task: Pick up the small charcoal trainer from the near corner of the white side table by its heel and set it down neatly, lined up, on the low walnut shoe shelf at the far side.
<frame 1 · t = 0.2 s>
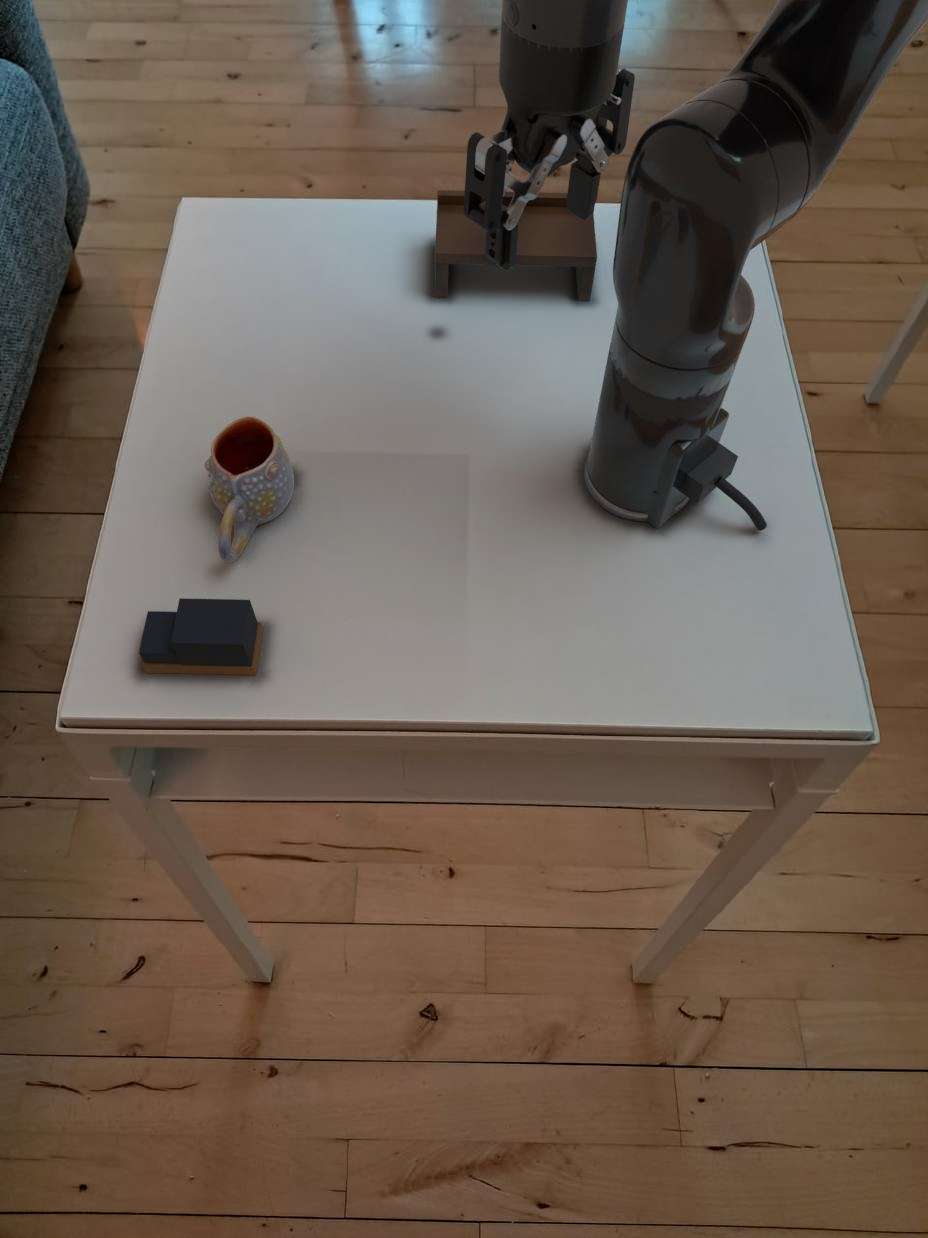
hand: (541, 237, 71), 17 cm above the table, tool pointing down, fingers open, 8 cm apart
shoe shelf: (512, 271, 94), on the table
trainer: (205, 650, 72), on the table
mug: (248, 521, 78), on the table
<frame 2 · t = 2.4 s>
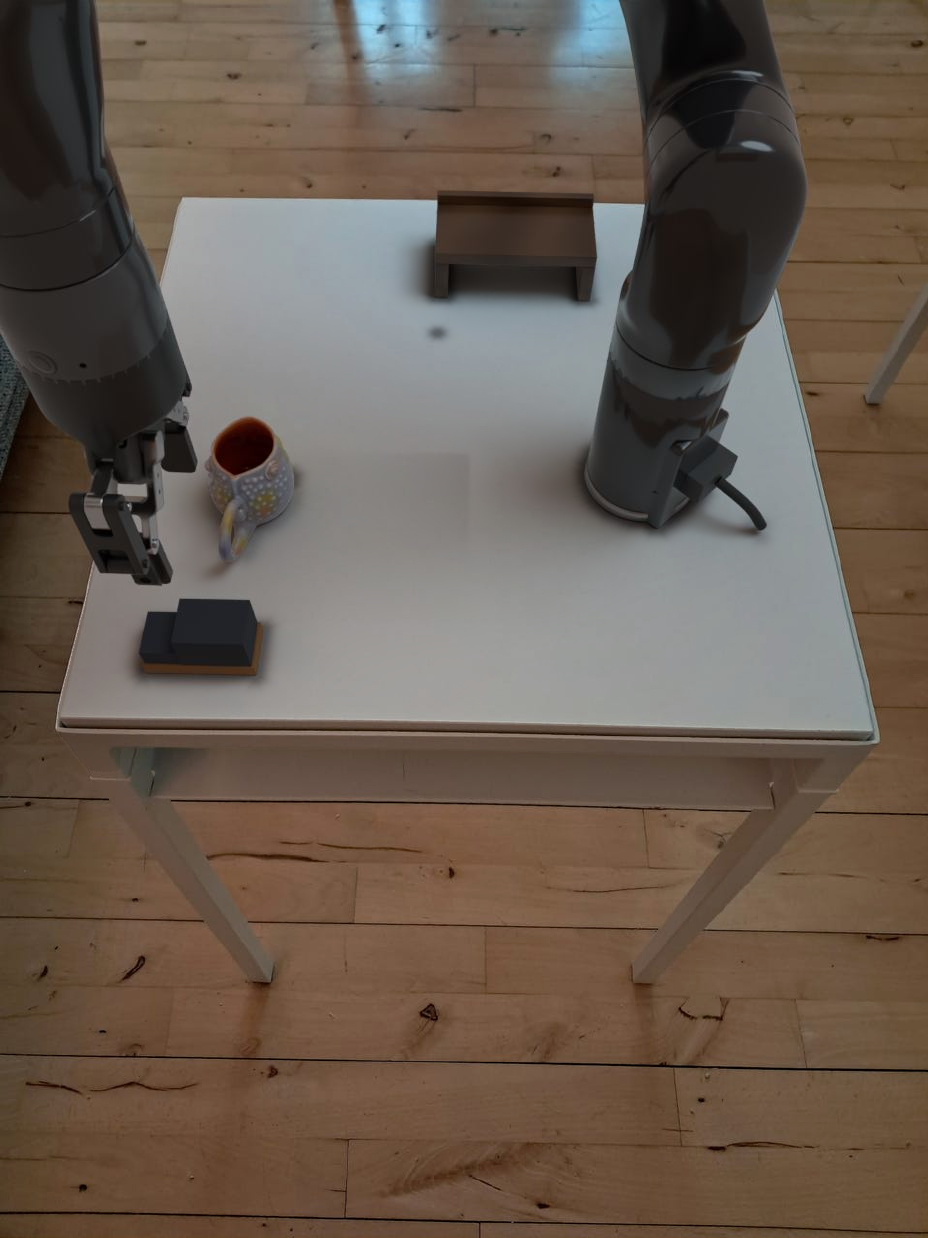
hand: (168, 521, 59), 16 cm above the table, tool pointing down, fingers open, 8 cm apart
nothing on the table moved.
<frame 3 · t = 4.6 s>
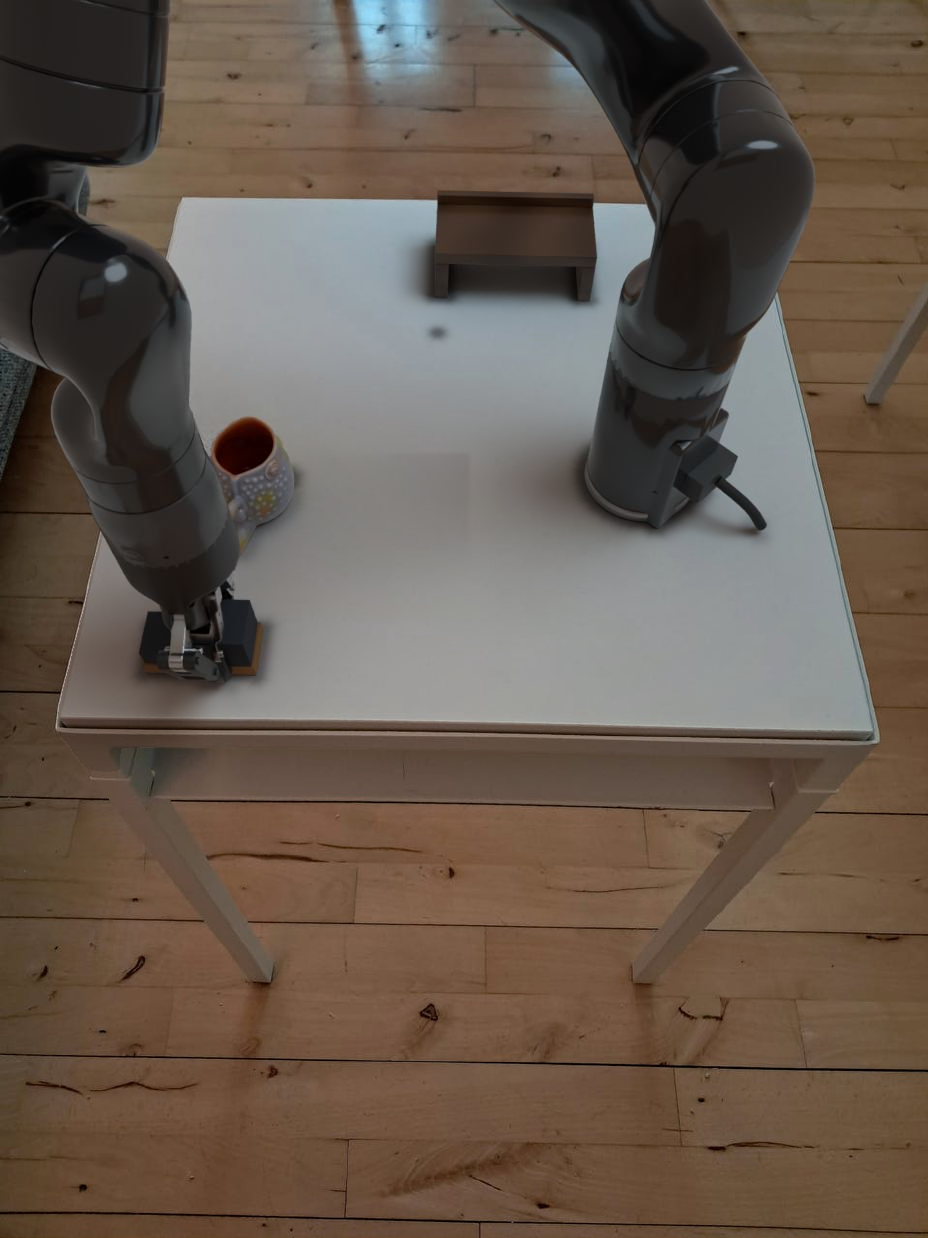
hand: (222, 648, 72), 0 cm above the table, tool pointing down, fingers closed on trainer, 4 cm apart
trainer: (205, 650, 72), on the table, touching gripper
everything else where it was.
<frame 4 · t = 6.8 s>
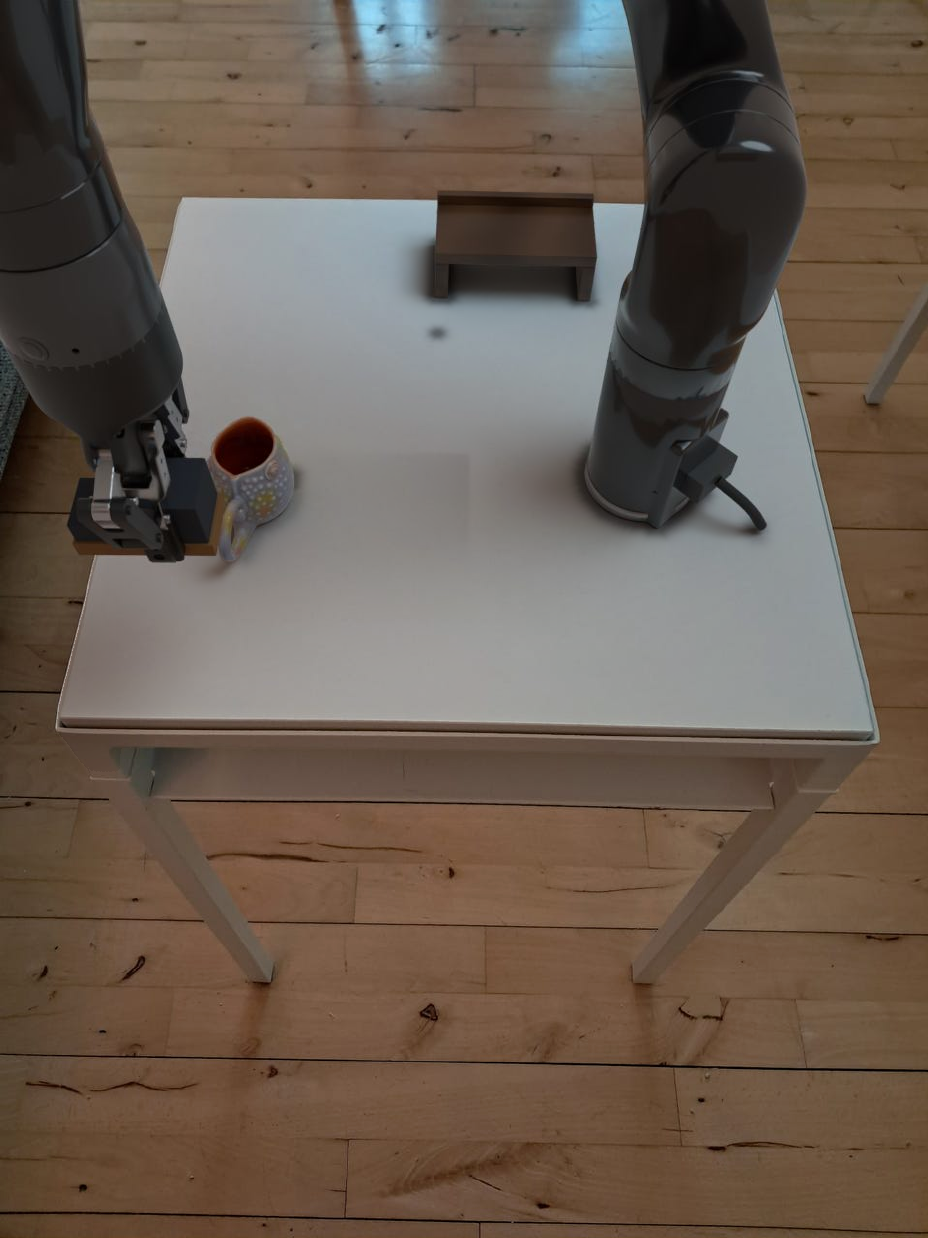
hand: (174, 524, 58), 16 cm above the table, tool pointing down, fingers closed on trainer, 4 cm apart
trainer: (153, 529, 58), point 16 cm above the table, touching gripper
everything else where it was.
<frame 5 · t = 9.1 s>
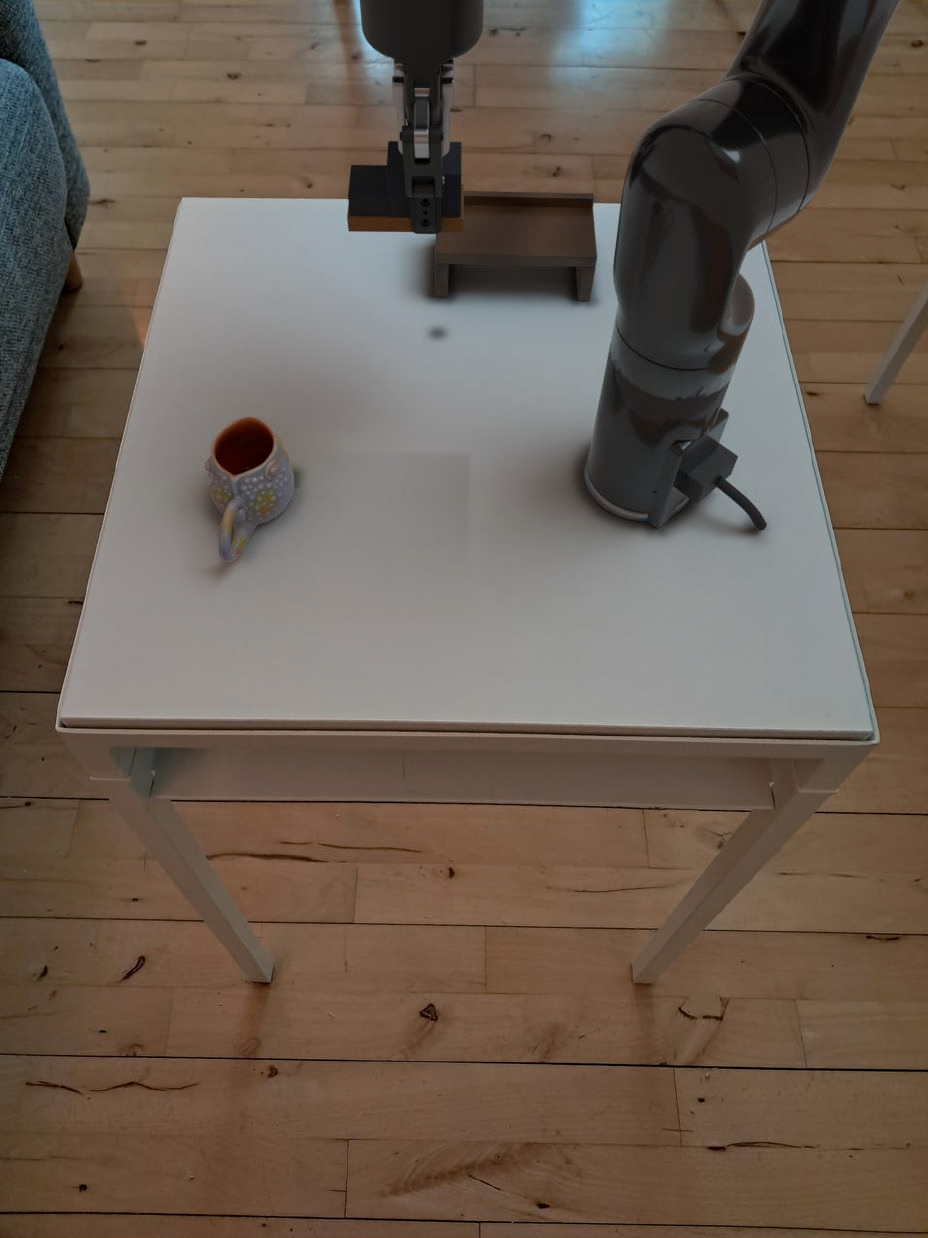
hand: (427, 209, 69), 19 cm above the table, tool pointing down, fingers closed on trainer, 4 cm apart
trainer: (406, 214, 70), point 19 cm above the table, touching gripper
everything else where it was.
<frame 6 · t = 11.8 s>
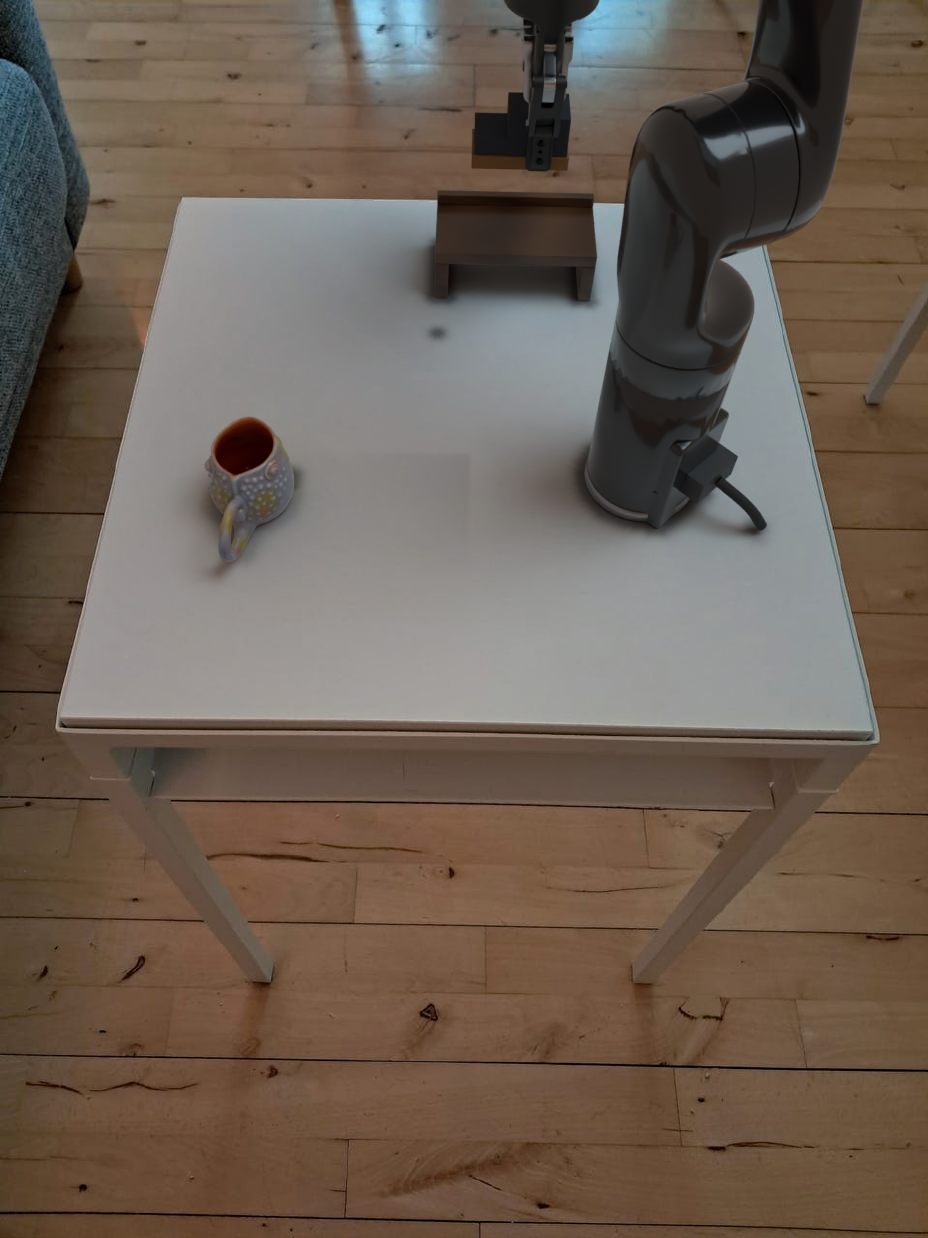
hand: (537, 151, 83), 13 cm above the table, tool pointing down, fingers closed on trainer, 4 cm apart
trainer: (519, 155, 83), point 13 cm above the table, touching gripper
everything else where it was.
when the fingers open (6 cm above the table, at t = 13.9 s): trainer stays where it is, resting on shoe shelf.
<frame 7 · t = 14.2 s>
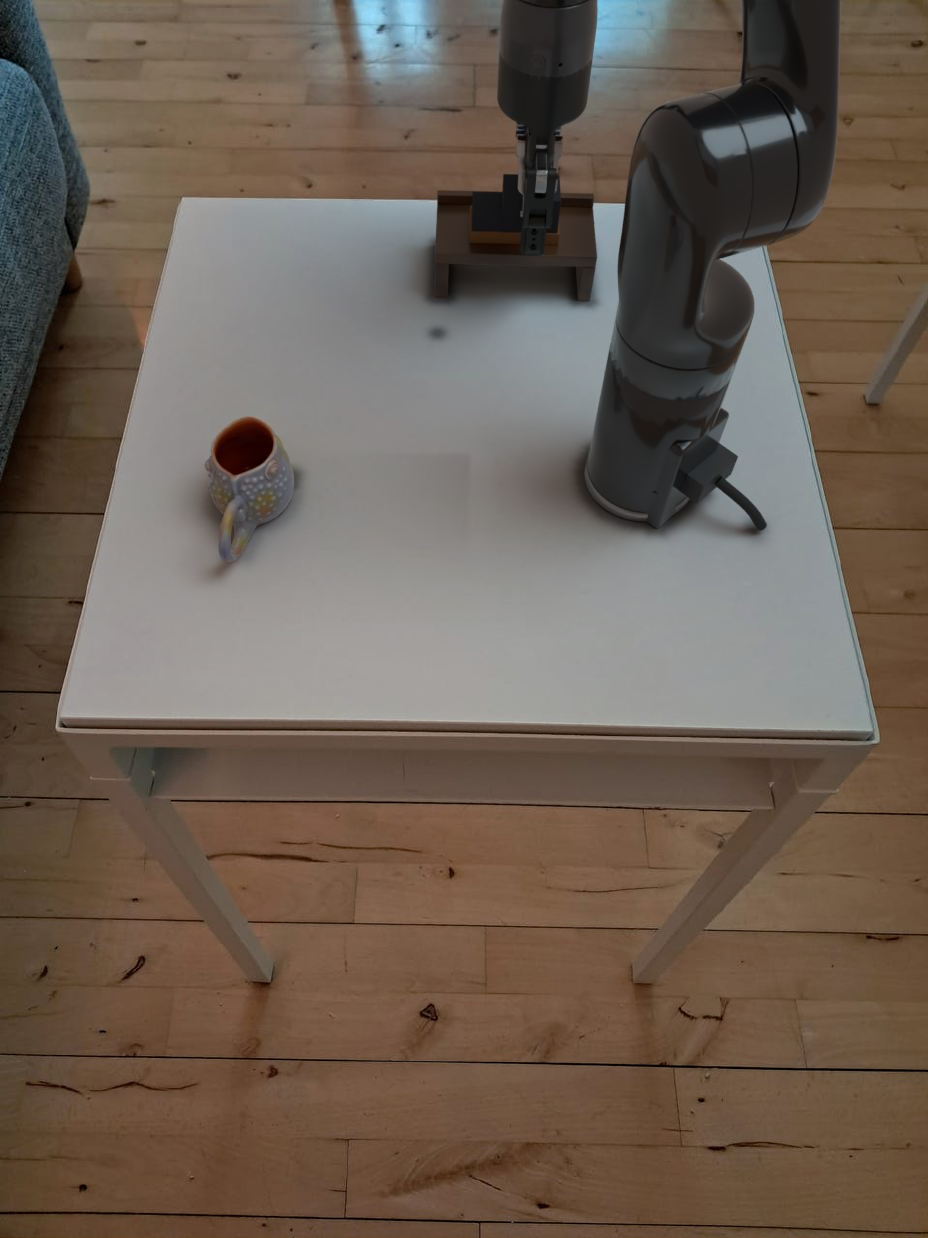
hand: (530, 229, 89), 6 cm above the table, tool pointing down, fingers open, 6 cm apart
trainer: (513, 230, 90), point 5 cm above the table, touching shoe shelf
everything else where it was.
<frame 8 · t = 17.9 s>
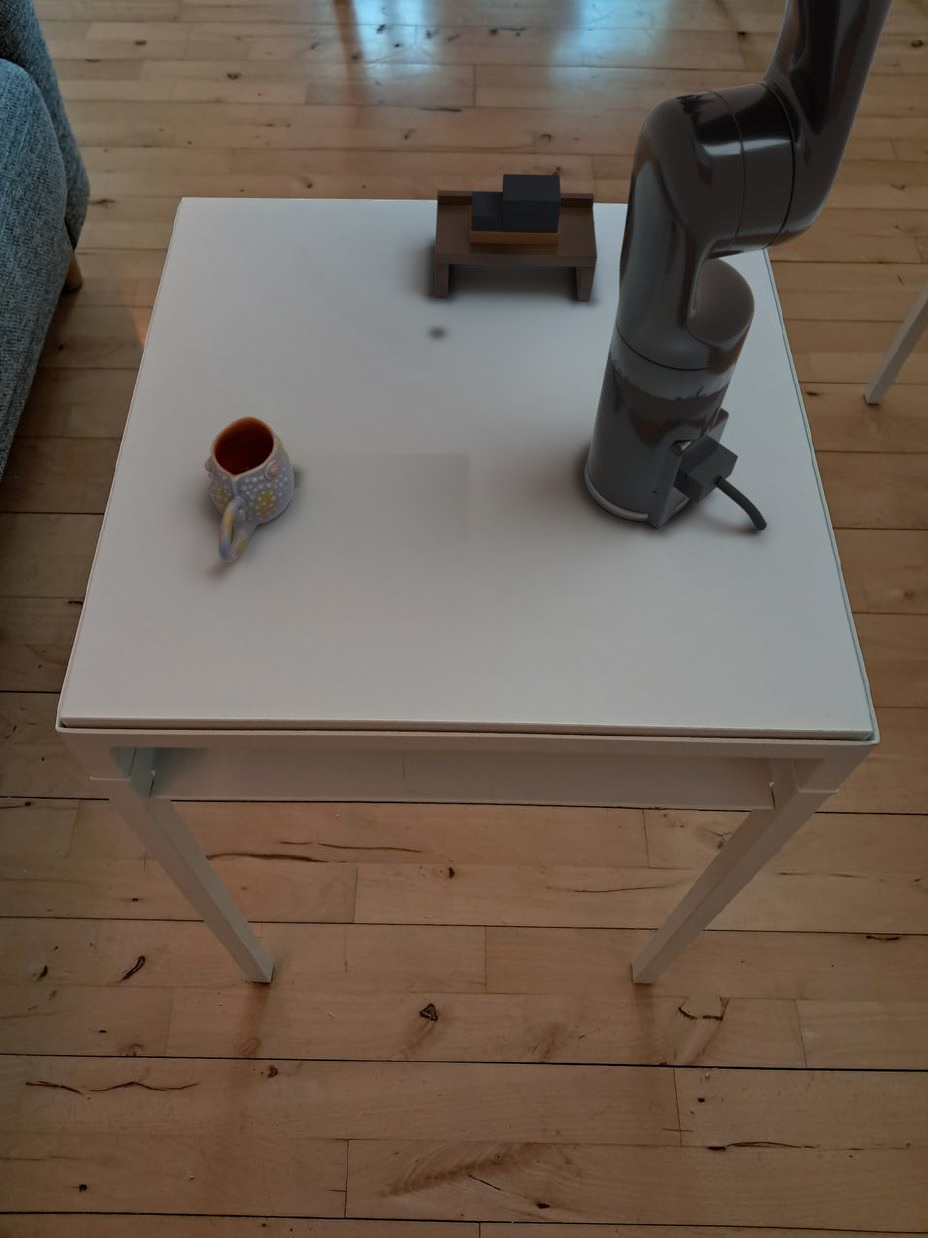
nothing on the table moved.
at the end: trainer inside the target area on the shoe shelf (0.5 cm from its centre), point 5.2 cm above the shoe shelf's base; trainer tilted 0° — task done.
